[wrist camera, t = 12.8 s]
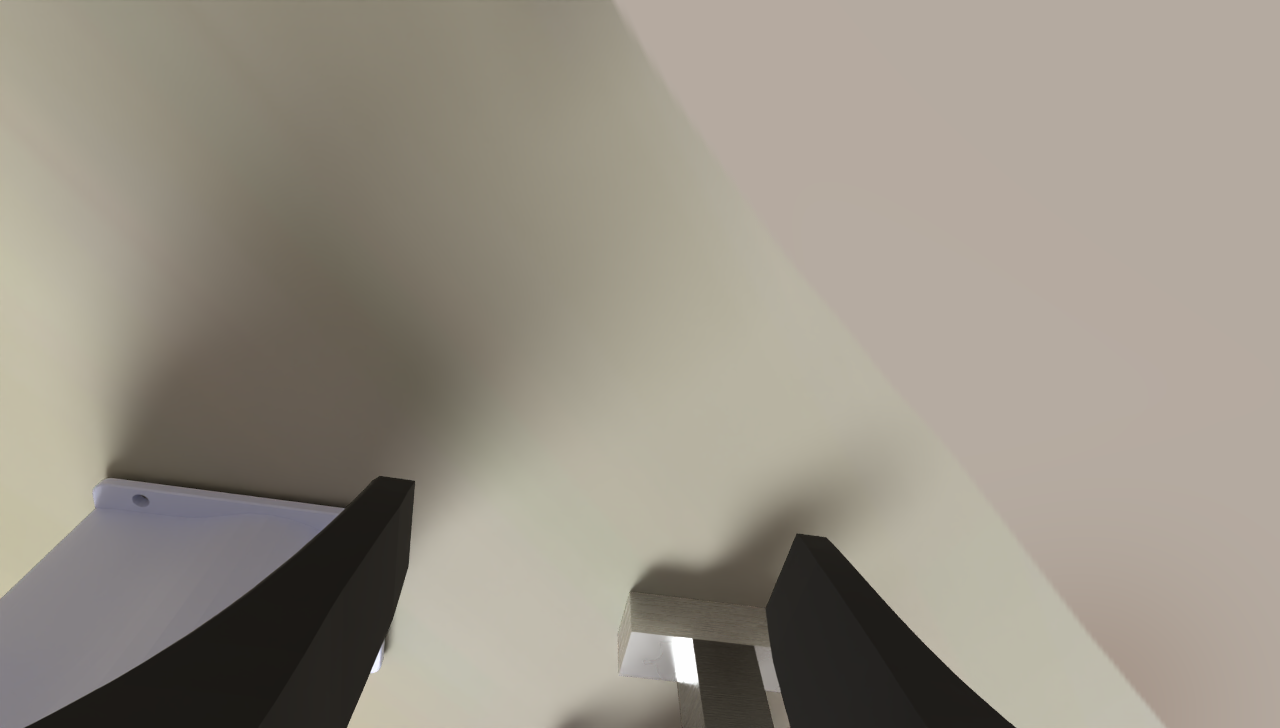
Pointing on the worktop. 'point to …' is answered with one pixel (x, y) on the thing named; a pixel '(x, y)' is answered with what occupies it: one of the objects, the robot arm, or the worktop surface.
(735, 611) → the grey t-shaped block
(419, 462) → the worktop surface
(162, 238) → the worktop surface
